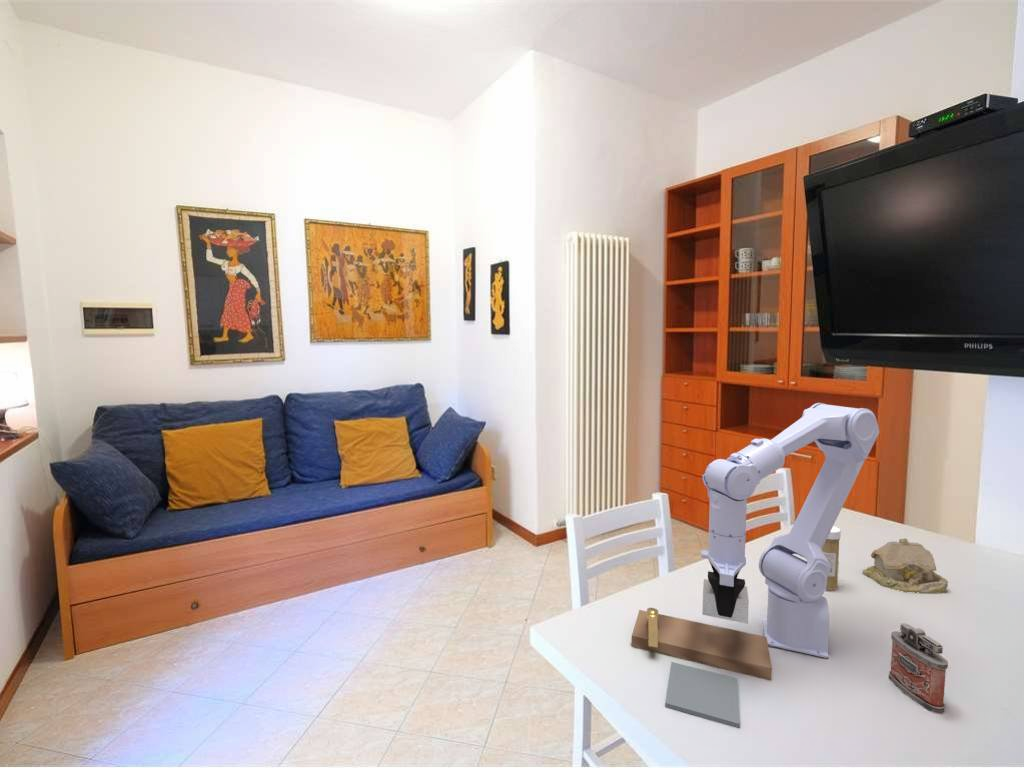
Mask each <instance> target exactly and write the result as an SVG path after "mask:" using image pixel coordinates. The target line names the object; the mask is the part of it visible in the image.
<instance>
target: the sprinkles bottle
mask: <svg viewBox="0 0 1024 768" xmlns="http://www.w3.org/2000/svg"><path fill="white" fill-rule="evenodd" d="M841 533H842V532H841V529H840V528H839V527H837V526H835V525H833V527H832V529H831V531H830V533H829V535H828V537H827V540H826V542H825V544H824V546H823V548H822V551H823V553H824V555H825V556H826V558H827V560H828V562H829V563H830V565H831V569H830V571H829V574H828V577H827V587H826V590H825V591H831V592H833V591H837V590H838V588H839V585H838V580H839V578H838V577H839V570H840V569H839V565H840V562H839V555H840V539H841Z"/></svg>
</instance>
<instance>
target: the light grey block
mask: <svg viewBox="0 0 1024 768" xmlns="http://www.w3.org/2000/svg"><path fill="white" fill-rule="evenodd" d="M702 585H703V586H702V587H703V588H702V610H701V612H702V616H707V617H712V618H717V619H722V620H727V621H731V622H737V623H740V624H741V623H742V624H746V625H747V624H748V623H749V606H750V605H749V602H750V600H749V599H750V598H749V591H748V586H746V585H745V586H744V588H743V590H742V591H741V592H740V594H739V596H738V598H737V601H736V605H735V609H734V612H733V615H732V618H729V617H725V616H720V615H718V612H717V607H716V601H715V595H714V592H713V589H712V586H711V584H710V583H709V580H708V578H706V579H705V578H704V579H703V583H702Z"/></svg>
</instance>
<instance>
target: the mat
mask: <svg viewBox="0 0 1024 768" xmlns="http://www.w3.org/2000/svg"><path fill="white" fill-rule="evenodd" d="M669 670H670V671H669V675H668V676H669V677H668V682H667V689H666V690H667V691H666V695H665V701H664V706H665V708H669V709H672V710H676V711H678V712H684V713H685V714H686V713H687V714H689V715H693V716H696V717H701V718H704V719H707V720H711V721H714V722H716V723H717V722H718V723H722V724H725V725H727V726H730V727H731V726H732V727H735V728H739V729H740V727H741V726H740V725H741V721H740V717H741V716H740V703H739V701H740V700H739V686H738V685H739V684H738V682H739V681H738V677H734V676H730V675H726V674H722V673H718V672H715V671H714V672H713V671H710V670H705V669H702V668H698V667H695V666H694V667H693V666H690V665H685V664H682V663H679V662H678V663H677V662H673V661H671V663H670V669H669Z"/></svg>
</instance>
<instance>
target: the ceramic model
mask: <svg viewBox="0 0 1024 768" xmlns="http://www.w3.org/2000/svg"><path fill="white" fill-rule="evenodd" d="M870 557H871V558H872V559H874V562H873V565H872V566H870V567H869V566H868V567H867V568H866V569H865V568H864V569H862V574H863V575H864V576H866V577H868V578H870V579H871V580H872V581H874V582H875V583H876V582H877V583H876V584H878V585H879V584H880V585H879V586H881V587H884V588H886V587H887V589H889V588H890V590H893V589H894V591H897V590H899V591H898V592H901V591H903V592H902V593H907V592H915V593H914V594H939V593H938V592H943V593H945V592H944V591H946V590H947V588H948V586H949V585H948V584H949V582H948V580H947V579H946V578H945V577H943V576H942V575H940V574H937V572H936V571H937V566H936V562H935V559H934V556H933V553H931V551H930V550H928V549H927V548H925V546H923V545H922V544H921V543H919V542H910V541H909V540H908V539H907V538H899V541H888V542H887V543H885V544H884V545H882V546H880V547H879V548H877V549H874V550H873V551H872V552H871V554H870ZM917 592H919V593H917Z"/></svg>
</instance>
